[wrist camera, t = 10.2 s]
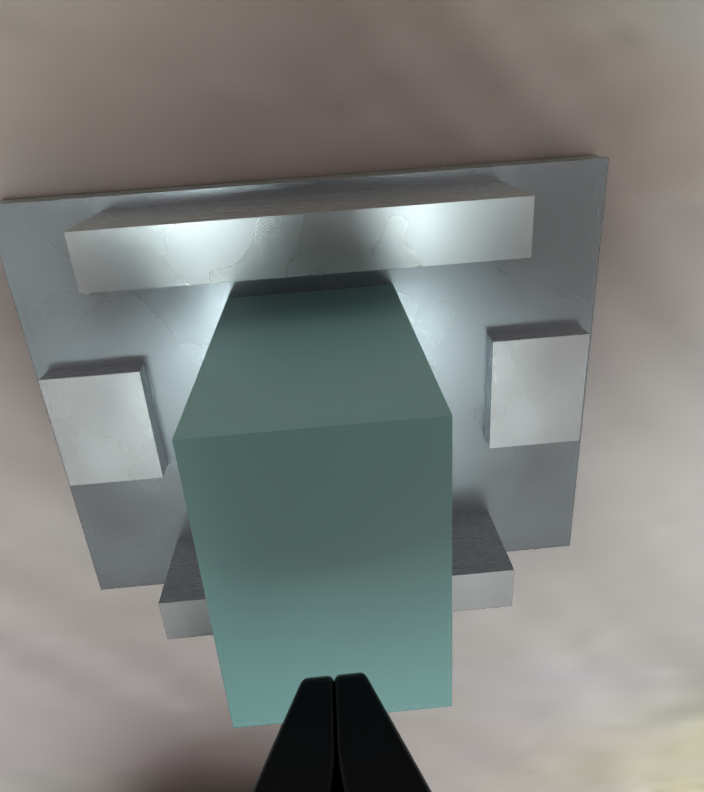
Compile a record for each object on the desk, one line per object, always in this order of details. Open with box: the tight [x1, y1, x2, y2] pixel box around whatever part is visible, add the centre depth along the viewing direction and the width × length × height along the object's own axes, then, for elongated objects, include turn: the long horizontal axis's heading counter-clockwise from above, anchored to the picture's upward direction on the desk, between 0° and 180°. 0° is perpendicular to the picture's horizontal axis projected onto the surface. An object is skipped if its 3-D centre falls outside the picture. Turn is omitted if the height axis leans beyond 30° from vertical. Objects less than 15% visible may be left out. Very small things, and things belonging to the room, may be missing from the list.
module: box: [172, 285, 453, 728], centre depth 14 cm, size 6×4×7 cm
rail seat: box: [0, 155, 609, 639], centre depth 16 cm, size 11×14×3 cm
